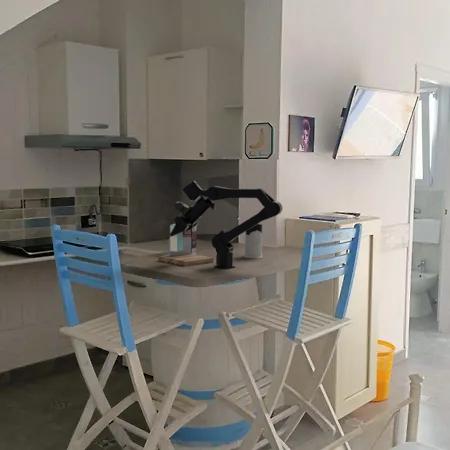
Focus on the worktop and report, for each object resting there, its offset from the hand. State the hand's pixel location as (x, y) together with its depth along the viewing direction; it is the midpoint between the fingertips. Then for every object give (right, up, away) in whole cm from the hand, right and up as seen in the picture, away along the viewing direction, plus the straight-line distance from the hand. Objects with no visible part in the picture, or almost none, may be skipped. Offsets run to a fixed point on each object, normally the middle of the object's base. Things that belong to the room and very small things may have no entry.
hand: (173, 234), depth 250 cm
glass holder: (+34, -11, +28) cm, 45 cm away
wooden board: (+5, -12, +9) cm, 15 cm away
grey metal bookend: (+1, -9, +13) cm, 16 cm away
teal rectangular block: (+1, -7, 0) cm, 7 cm away
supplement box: (+3, -10, +31) cm, 33 cm away
